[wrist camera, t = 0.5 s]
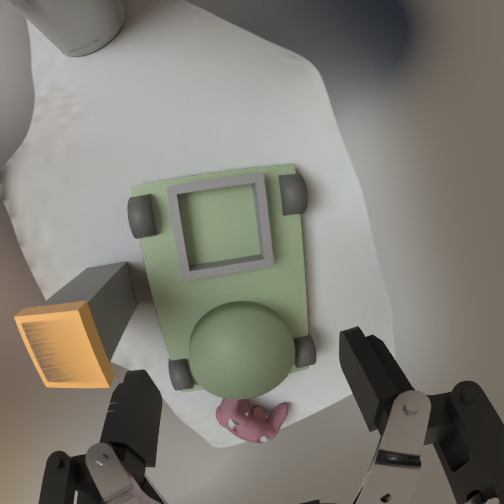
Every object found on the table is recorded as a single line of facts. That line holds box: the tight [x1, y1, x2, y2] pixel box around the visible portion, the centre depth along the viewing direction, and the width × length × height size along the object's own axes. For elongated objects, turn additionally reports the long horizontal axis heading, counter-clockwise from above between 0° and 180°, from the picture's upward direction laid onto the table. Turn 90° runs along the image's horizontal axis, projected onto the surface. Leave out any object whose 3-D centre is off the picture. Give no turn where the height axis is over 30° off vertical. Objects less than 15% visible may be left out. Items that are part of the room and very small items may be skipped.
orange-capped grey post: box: [14, 262, 137, 388], centre depth 21 cm, size 6×6×14 cm
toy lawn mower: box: [128, 164, 316, 400], centre depth 28 cm, size 24×16×5 cm
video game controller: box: [216, 398, 288, 443], centre depth 32 cm, size 10×5×7 cm, turn 46°
